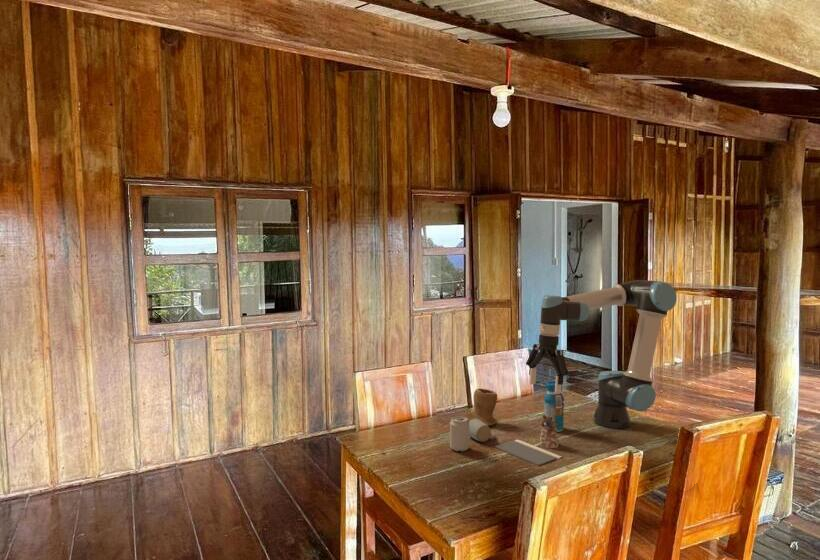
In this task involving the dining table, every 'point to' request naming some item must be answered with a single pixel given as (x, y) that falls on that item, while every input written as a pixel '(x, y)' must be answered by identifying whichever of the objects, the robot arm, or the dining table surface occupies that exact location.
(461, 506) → the dining table surface
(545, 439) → the figurine
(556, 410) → the beverage bottle
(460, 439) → the can
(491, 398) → the brown boot planter
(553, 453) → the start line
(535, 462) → the mat
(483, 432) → the ceramic mug
